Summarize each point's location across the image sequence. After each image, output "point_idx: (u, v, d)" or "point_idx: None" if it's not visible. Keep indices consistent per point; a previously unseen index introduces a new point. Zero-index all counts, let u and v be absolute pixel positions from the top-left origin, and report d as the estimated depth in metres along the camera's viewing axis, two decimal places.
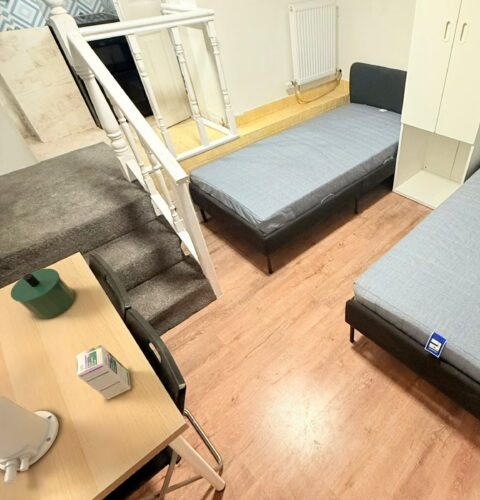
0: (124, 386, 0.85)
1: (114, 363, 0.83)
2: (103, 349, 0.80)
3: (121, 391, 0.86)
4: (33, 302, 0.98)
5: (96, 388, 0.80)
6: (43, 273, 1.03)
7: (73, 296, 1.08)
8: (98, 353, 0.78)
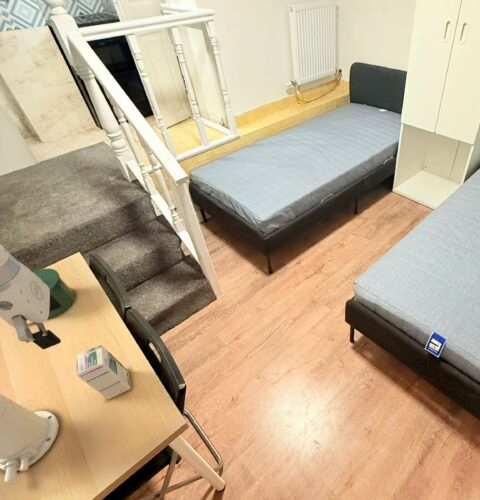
0: (124, 386, 0.85)
1: (114, 363, 0.83)
2: (103, 349, 0.80)
3: (121, 391, 0.86)
4: None
5: (96, 388, 0.80)
6: (43, 273, 1.03)
7: (73, 296, 1.08)
8: (98, 353, 0.78)
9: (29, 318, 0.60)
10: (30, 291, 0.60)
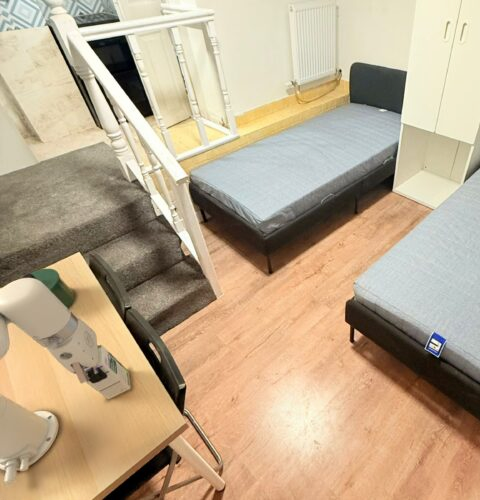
0: (124, 386, 0.85)
1: (114, 363, 0.83)
2: (103, 349, 0.80)
3: (121, 391, 0.86)
4: None
5: (96, 388, 0.80)
6: (43, 273, 1.03)
7: (73, 296, 1.08)
8: (98, 353, 0.78)
9: (83, 364, 0.71)
10: (84, 341, 0.72)
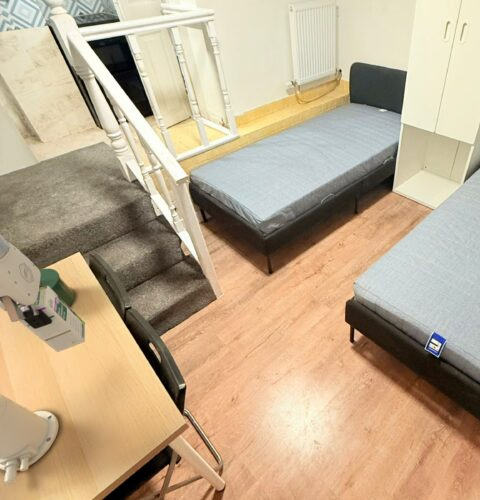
0: (76, 337, 0.73)
1: (63, 309, 0.71)
2: (49, 290, 0.69)
3: (73, 343, 0.74)
4: None
5: (40, 336, 0.69)
6: (43, 273, 1.03)
7: (73, 296, 1.08)
8: (42, 293, 0.67)
9: (16, 300, 0.59)
10: (19, 273, 0.60)
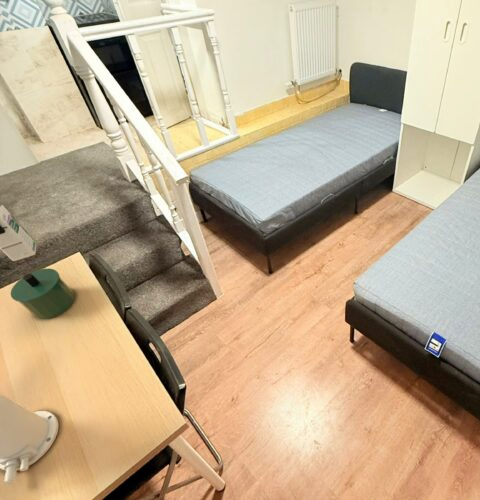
0: (28, 249, 0.93)
1: (16, 225, 0.91)
2: (3, 208, 0.88)
3: (25, 255, 0.94)
4: (33, 302, 0.98)
5: None
6: (43, 273, 1.03)
7: (73, 296, 1.08)
8: None
9: None
10: None
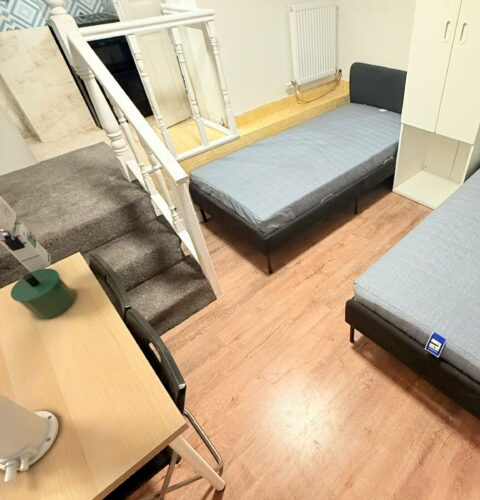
0: (43, 261, 1.06)
1: (33, 240, 1.03)
2: (23, 226, 1.01)
3: (41, 266, 1.06)
4: (33, 302, 0.98)
5: (17, 257, 1.01)
6: (43, 273, 1.03)
7: (73, 296, 1.08)
8: (17, 227, 0.99)
9: None
10: (0, 209, 0.92)
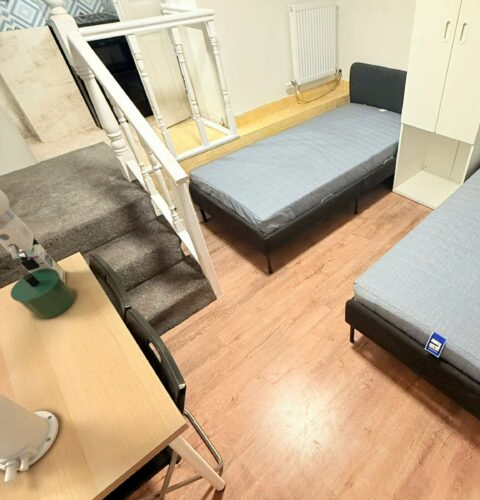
0: None
1: (50, 259, 1.09)
2: (40, 247, 1.07)
3: None
4: (33, 302, 0.98)
5: None
6: (43, 273, 1.03)
7: (73, 296, 1.08)
8: (35, 248, 1.05)
9: (19, 247, 0.98)
10: (20, 231, 0.98)
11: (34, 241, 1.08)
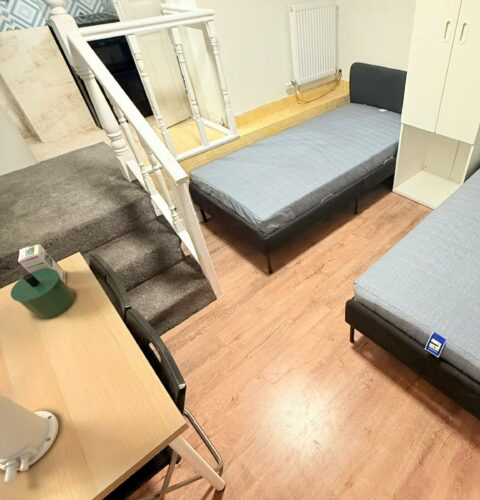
0: None
1: (50, 259, 1.09)
2: (40, 247, 1.07)
3: None
4: (33, 302, 0.98)
5: None
6: (43, 273, 1.03)
7: (73, 296, 1.08)
8: (35, 248, 1.05)
9: None
10: None
11: None
